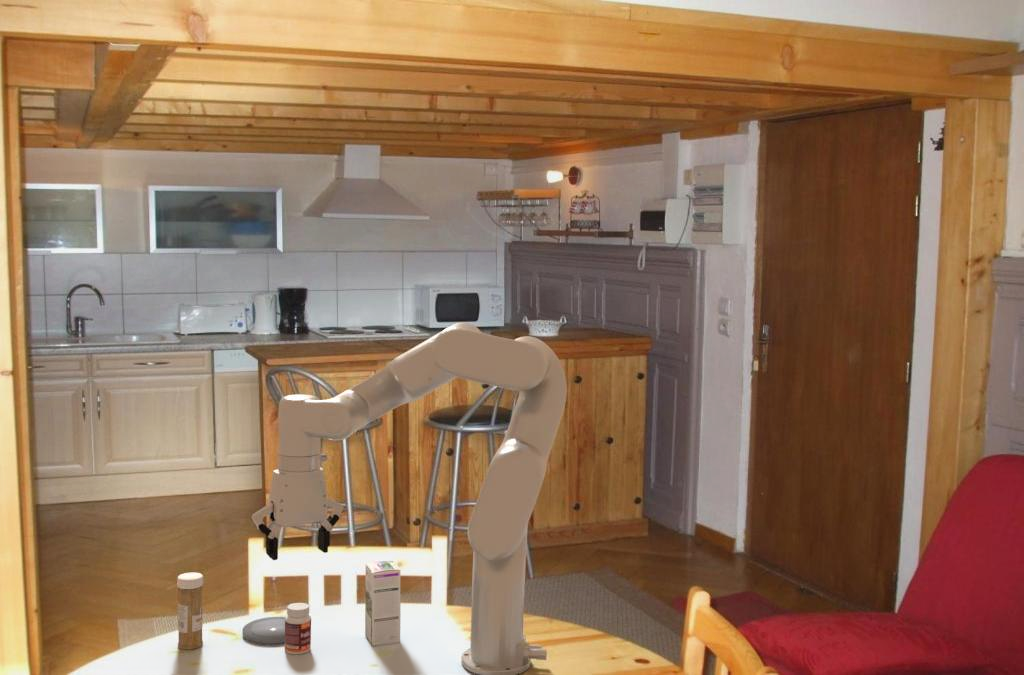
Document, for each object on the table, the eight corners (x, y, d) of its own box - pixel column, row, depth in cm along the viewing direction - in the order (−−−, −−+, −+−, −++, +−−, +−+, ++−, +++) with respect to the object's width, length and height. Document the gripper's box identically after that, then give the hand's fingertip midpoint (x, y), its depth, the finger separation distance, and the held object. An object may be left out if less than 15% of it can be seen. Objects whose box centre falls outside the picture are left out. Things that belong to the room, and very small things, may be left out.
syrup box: (401, 643, 196) (402, 568, 195) (370, 646, 194) (372, 571, 192) (393, 632, 201) (394, 559, 200) (363, 635, 199) (364, 562, 198)
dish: (314, 624, 204) (314, 618, 204) (294, 647, 192) (294, 641, 192) (256, 619, 206) (256, 614, 206) (232, 642, 194) (232, 636, 194)
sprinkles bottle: (204, 648, 191) (205, 577, 189) (179, 652, 189) (179, 580, 187) (200, 639, 195) (200, 570, 194) (175, 643, 193) (175, 573, 192)
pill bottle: (304, 656, 189) (305, 611, 188) (280, 653, 190) (280, 609, 189) (314, 646, 193) (315, 603, 192) (290, 643, 194) (291, 600, 193)
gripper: (335, 454, 196) (333, 542, 198) (246, 463, 187) (245, 555, 188) (351, 462, 190) (350, 553, 191) (260, 471, 180) (259, 566, 182)
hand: (298, 554), depth 190 cm, fingers open, 9 cm apart
